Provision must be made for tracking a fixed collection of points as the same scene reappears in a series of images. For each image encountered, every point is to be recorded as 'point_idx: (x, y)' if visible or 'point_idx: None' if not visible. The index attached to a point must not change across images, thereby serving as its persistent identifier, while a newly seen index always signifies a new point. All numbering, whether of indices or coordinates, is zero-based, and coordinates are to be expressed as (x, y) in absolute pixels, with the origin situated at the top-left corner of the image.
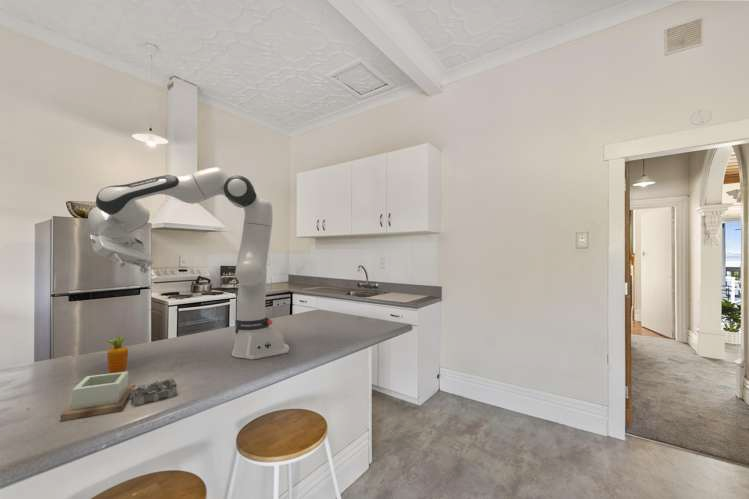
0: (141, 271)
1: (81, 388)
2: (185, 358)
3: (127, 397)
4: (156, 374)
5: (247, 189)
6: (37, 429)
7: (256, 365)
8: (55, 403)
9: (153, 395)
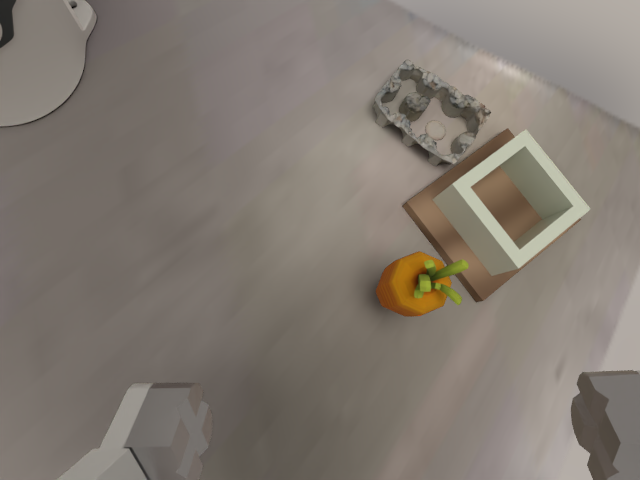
0: (209, 436)
1: (577, 193)
2: (119, 268)
3: (470, 155)
4: (291, 242)
5: None
6: (605, 234)
7: None
8: (521, 335)
9: (446, 98)
